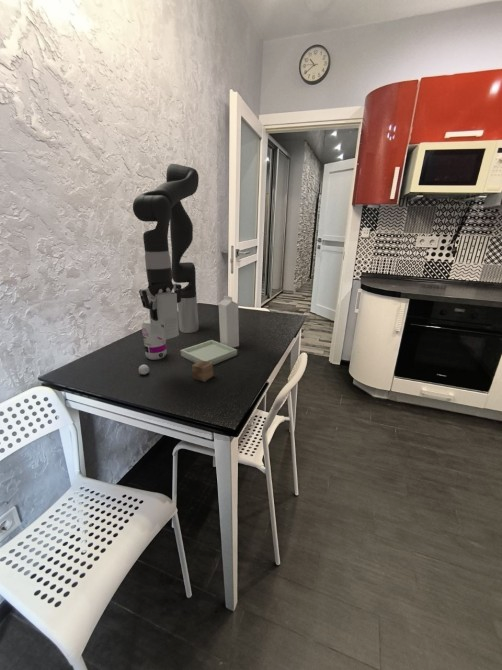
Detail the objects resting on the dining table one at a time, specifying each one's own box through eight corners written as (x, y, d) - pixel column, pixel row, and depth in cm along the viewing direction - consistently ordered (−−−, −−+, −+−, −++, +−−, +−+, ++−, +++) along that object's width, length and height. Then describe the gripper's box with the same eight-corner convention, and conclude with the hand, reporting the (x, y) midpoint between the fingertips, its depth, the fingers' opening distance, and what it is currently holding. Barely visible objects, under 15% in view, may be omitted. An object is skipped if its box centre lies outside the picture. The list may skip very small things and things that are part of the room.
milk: (227, 349, 129) (225, 298, 122) (220, 345, 134) (217, 295, 126) (239, 346, 133) (238, 296, 125) (231, 341, 137) (230, 293, 129)
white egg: (137, 374, 108) (136, 365, 107) (146, 370, 110) (145, 362, 109) (142, 377, 106) (140, 368, 105) (151, 373, 108) (150, 364, 107)
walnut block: (192, 378, 105) (191, 365, 103) (201, 372, 109) (201, 360, 107) (204, 381, 103) (203, 368, 101) (213, 375, 107) (212, 362, 105)
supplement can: (170, 353, 125) (167, 318, 120) (158, 361, 118) (154, 324, 113) (154, 351, 128) (149, 316, 123) (141, 358, 120) (136, 322, 115)
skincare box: (151, 334, 103) (145, 291, 97) (166, 330, 107) (161, 288, 102) (165, 340, 97) (160, 295, 92) (181, 335, 102) (176, 291, 96)
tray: (181, 355, 123) (180, 350, 122) (212, 345, 134) (211, 339, 133) (205, 367, 112) (205, 361, 112) (237, 355, 123) (236, 349, 122)
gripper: (172, 262, 101) (176, 311, 107) (130, 267, 92) (138, 320, 98) (185, 265, 96) (189, 315, 102) (142, 270, 87) (149, 325, 93)
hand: (164, 317), depth 100 cm, fingers closed on skincare box, 6 cm apart
